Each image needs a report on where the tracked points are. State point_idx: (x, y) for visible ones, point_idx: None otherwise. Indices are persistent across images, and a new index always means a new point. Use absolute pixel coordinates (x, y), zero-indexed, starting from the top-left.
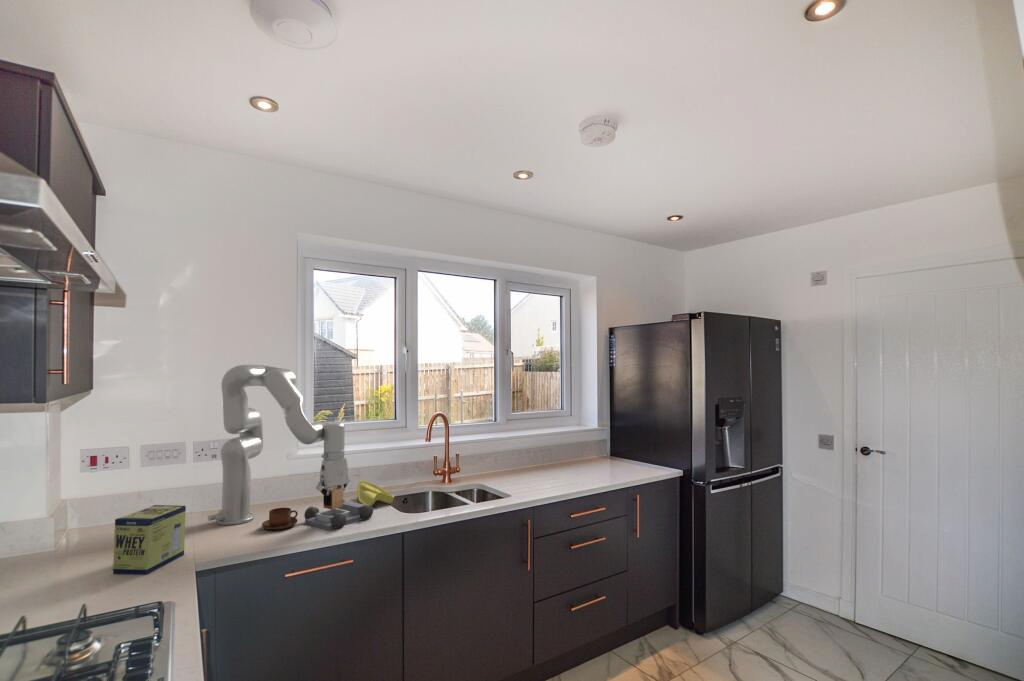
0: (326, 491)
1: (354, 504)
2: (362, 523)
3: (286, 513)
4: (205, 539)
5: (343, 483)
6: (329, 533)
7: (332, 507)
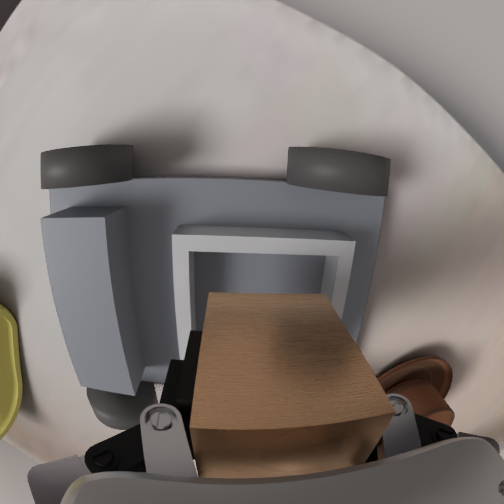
0: (412, 430)
1: (82, 303)
2: (181, 108)
3: (433, 407)
4: (485, 405)
5: (188, 489)
6: (405, 147)
7: (325, 301)
